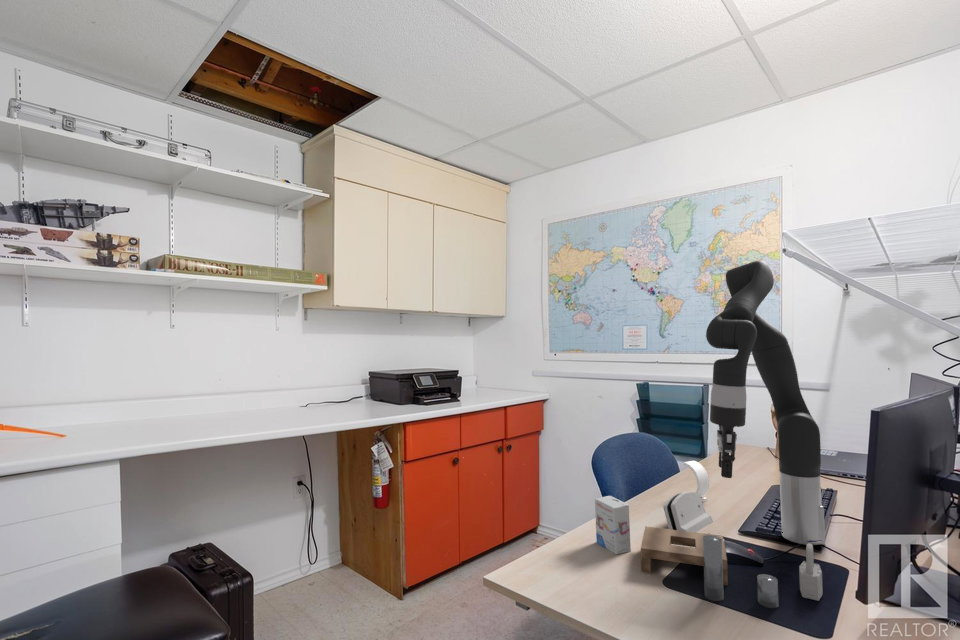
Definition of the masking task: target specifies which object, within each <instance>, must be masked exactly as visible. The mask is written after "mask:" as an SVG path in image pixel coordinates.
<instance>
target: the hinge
mask: <svg viewBox="0 0 960 640" xmlns="http://www.w3.org/2000/svg"><path fill="white" fill-rule="evenodd" d="M663 511H664V514H665V515H664V516H665V519H666V522H667V523H666V524H667V526H668V529H671V530H679V531H688V532H696V533H698V532H699V531H700V530H702V529H703V528H705V527H707V526H708V525H710V524H711V523H713V522H714V520H713V517H712V515H711V514H710V513H708V512H707V511H706V509H705V507H704V504H703V502H702V501H701V499H700V497H699V495H698V494H697V493H696V492H690V491H685V492H679V493H676V494H674V495H672V496H671V497H668V499H667V500H666V502H665V503H664V505H663Z"/></svg>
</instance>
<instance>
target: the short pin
mask: <svg viewBox="0 0 960 640" xmlns="http://www.w3.org/2000/svg"><path fill="white" fill-rule="evenodd" d="M756 578H757V582H756V583H757V602H758V604H759V605H760V606H763V607H765V608H769V609H777V608H779V580H778V578H777V577H776V576H773V575H770V574H765V573H762V574H758V575H757V576H756Z"/></svg>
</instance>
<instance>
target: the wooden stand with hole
mask: <svg viewBox="0 0 960 640" xmlns="http://www.w3.org/2000/svg"><path fill="white" fill-rule="evenodd" d="M705 535H713V536H717V537H720V538H721V539H722V562H723V586H729V581H728V580H729V579H728V578H729V577H728V556H727V553H726V546H725V541H724V535H719V534H712V533H703V532H702V533H701V532H688V531H679V530H671V529H669V528H663V527H654V526H653V527H652V526H645V527H644V530H643V536H642V539H641V544H640V573H644V574H651V573H652V572H651V571H652V566H653V559H654V560H662V561H665V562H667V561H668V562H674V563H681V564H686V565H687V564H688V565H695V566H696V565H697V566H702V567H704V557H703V536H705Z"/></svg>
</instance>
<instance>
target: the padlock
mask: <svg viewBox="0 0 960 640" xmlns="http://www.w3.org/2000/svg"><path fill="white" fill-rule="evenodd" d="M805 545H806V544H805ZM814 557H815V556H814V545H812V544H810V543H808V544H807V545H806V547H805V560H803V561H802V563H801V564H799V567H798V568H799V569H798V570H799V573H798V575H799V590H800V594H801V597H802V598H805V599H810V600H814V601H818V602H819V601H820V599H821V598H822V596H823V590H824V589H823V571H822V569H821V566H820V564H818V563H815V562H814V561H815V560H814Z"/></svg>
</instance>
